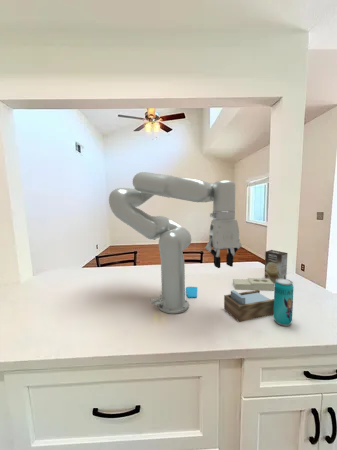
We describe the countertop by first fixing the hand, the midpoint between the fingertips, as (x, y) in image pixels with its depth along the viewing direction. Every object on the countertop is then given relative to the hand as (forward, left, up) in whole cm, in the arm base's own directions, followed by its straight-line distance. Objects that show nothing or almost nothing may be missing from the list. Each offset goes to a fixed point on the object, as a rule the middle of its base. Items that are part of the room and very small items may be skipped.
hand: (223, 265), depth 78 cm
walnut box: (+12, 0, -19) cm, 22 cm away
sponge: (-3, +24, -20) cm, 31 cm away
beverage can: (+18, -10, -20) cm, 28 cm away
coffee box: (+45, +22, -20) cm, 54 cm away
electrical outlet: (+29, +20, -20) cm, 40 cm away
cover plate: (+12, 0, -15) cm, 19 cm away
